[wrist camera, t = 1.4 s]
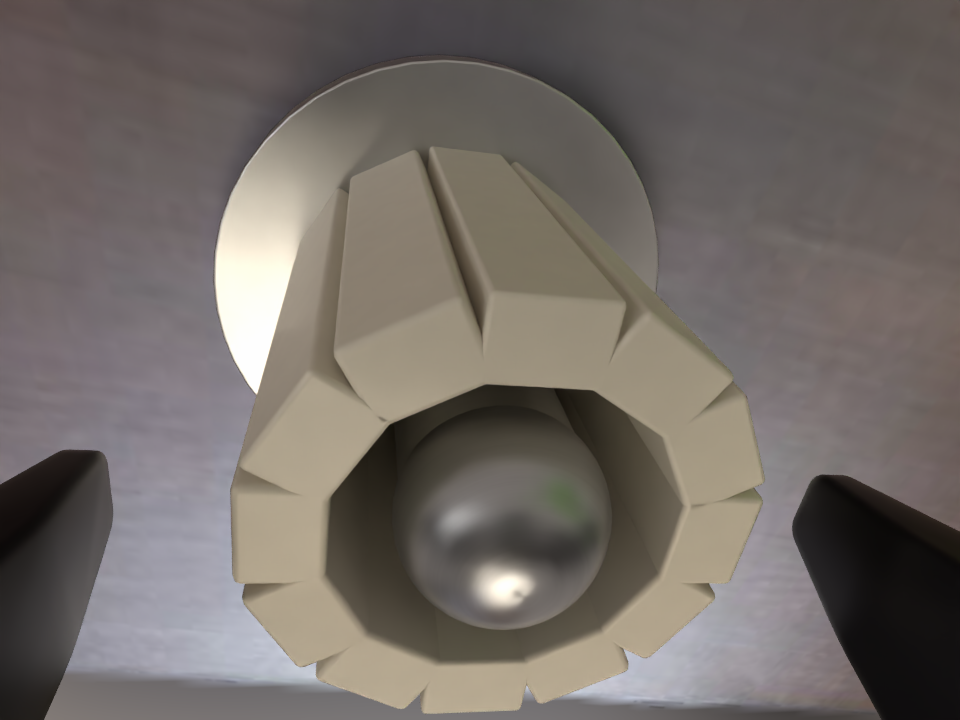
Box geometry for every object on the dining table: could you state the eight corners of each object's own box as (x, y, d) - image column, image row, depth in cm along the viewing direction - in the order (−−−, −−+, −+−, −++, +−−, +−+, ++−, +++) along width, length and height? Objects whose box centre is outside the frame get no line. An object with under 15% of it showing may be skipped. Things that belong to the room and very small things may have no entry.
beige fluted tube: (291, 418, 14) (234, 723, 8) (297, 128, 12) (223, 268, 6) (558, 429, 16) (679, 705, 10) (620, 168, 13) (843, 321, 7)
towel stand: (227, 446, 16) (93, 872, 8) (215, 17, 12) (-73, 57, 4) (592, 459, 18) (768, 819, 10) (692, 90, 13) (1121, 213, 6)
